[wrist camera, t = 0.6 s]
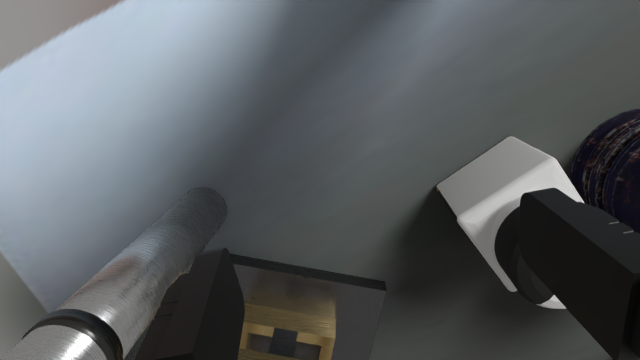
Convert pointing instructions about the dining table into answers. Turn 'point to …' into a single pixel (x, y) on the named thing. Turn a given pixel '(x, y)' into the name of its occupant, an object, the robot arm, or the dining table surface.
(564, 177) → the medicine bottle
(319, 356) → the collar stand
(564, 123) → the dining table surface
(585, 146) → the storage jar
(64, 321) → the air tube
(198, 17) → the dining table surface
